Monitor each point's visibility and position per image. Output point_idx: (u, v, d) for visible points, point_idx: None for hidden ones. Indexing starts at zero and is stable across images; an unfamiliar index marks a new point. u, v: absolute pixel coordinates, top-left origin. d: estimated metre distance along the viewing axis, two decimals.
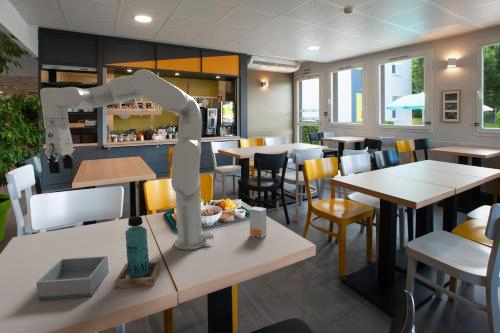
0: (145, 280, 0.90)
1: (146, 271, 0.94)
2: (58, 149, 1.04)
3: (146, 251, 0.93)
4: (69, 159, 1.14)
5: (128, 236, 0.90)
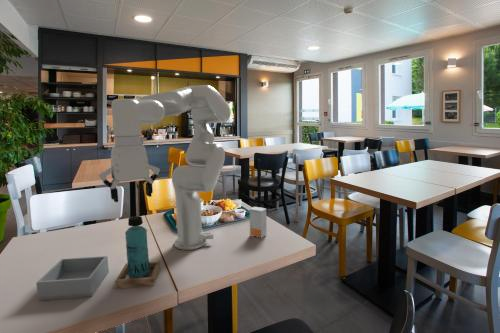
0: (145, 280, 0.90)
1: (146, 271, 0.94)
2: None
3: (146, 251, 0.93)
4: None
5: (128, 236, 0.90)
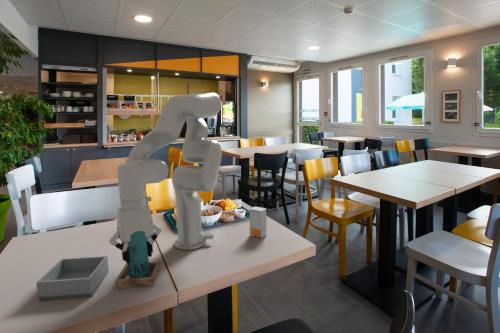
0: (145, 280, 0.90)
1: (146, 271, 0.94)
2: None
3: (146, 251, 0.93)
4: None
5: None
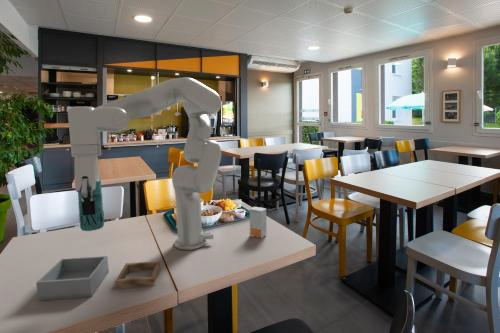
0: (145, 280, 0.90)
1: None
2: None
3: None
4: None
5: None
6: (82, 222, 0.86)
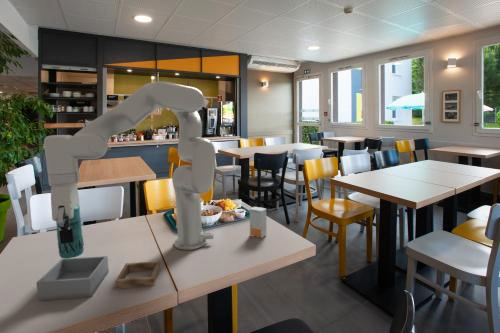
0: (145, 280, 0.90)
1: None
2: None
3: None
4: None
5: None
6: (60, 250, 0.86)
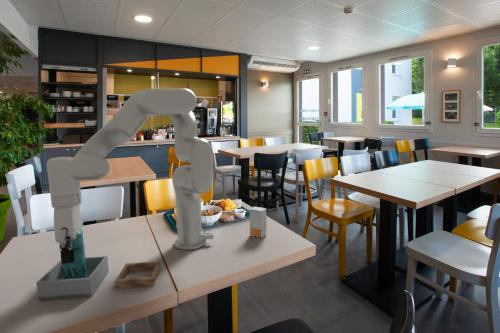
0: (145, 280, 0.90)
1: None
2: None
3: None
4: None
5: None
6: (64, 274, 0.87)
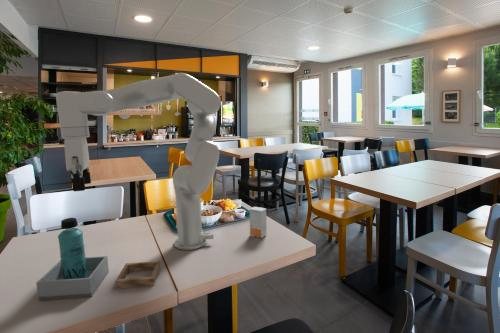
0: (145, 280, 0.90)
1: None
2: None
3: None
4: None
5: (73, 238, 0.86)
6: (64, 275, 0.87)
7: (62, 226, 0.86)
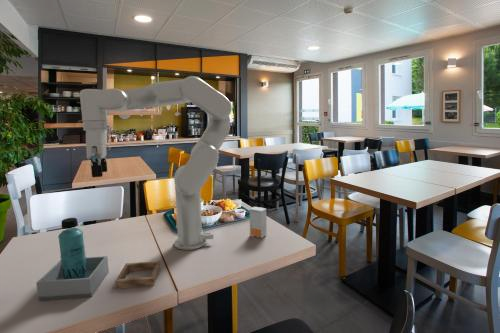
0: (145, 280, 0.90)
1: None
2: None
3: None
4: None
5: (73, 238, 0.86)
6: (64, 275, 0.87)
7: (62, 226, 0.86)
